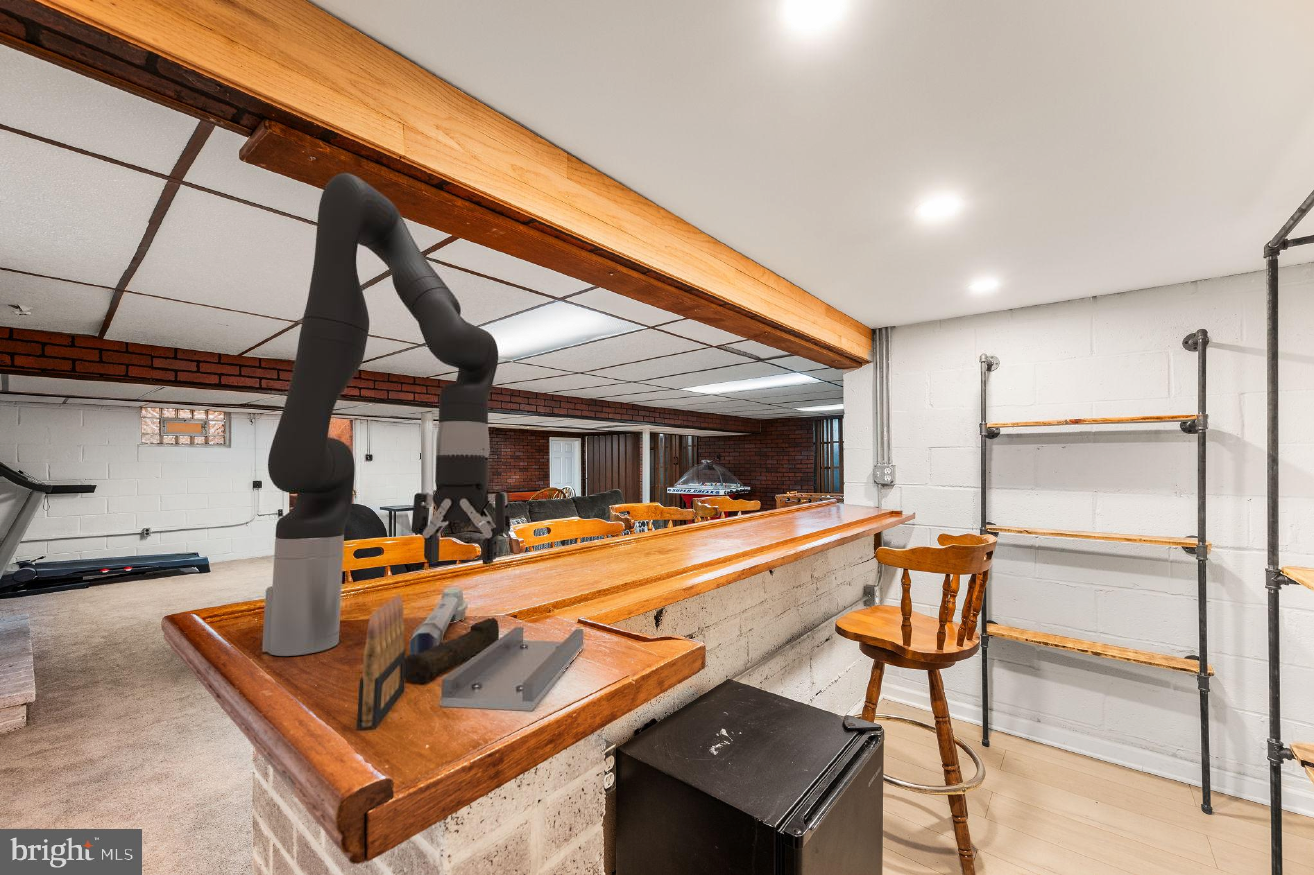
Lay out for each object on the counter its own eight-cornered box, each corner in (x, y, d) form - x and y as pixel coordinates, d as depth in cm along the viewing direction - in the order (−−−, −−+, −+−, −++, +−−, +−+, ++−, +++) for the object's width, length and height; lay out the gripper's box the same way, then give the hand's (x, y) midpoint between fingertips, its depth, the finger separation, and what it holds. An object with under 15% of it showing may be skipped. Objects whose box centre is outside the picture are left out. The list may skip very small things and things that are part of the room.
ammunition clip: (388, 691, 66) (393, 592, 67) (404, 690, 67) (408, 592, 68) (356, 730, 56) (361, 612, 57) (375, 729, 56) (380, 612, 57)
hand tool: (425, 688, 68) (427, 651, 68) (400, 684, 69) (402, 647, 70) (512, 646, 86) (513, 617, 86) (491, 644, 87) (492, 614, 87)
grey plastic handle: (403, 632, 79) (441, 579, 104) (403, 676, 79) (441, 613, 104) (440, 631, 80) (469, 578, 105) (440, 674, 80) (469, 612, 105)
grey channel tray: (440, 706, 62) (441, 679, 62) (515, 646, 85) (515, 627, 85) (532, 711, 61) (533, 683, 61) (583, 649, 83) (583, 629, 84)
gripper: (403, 453, 78) (400, 567, 76) (498, 451, 76) (496, 568, 75) (431, 455, 85) (428, 559, 84) (517, 454, 83) (516, 560, 82)
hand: (460, 563), depth 79 cm, fingers open, 8 cm apart
